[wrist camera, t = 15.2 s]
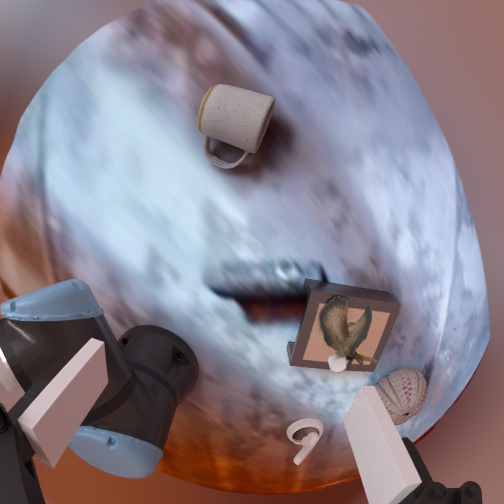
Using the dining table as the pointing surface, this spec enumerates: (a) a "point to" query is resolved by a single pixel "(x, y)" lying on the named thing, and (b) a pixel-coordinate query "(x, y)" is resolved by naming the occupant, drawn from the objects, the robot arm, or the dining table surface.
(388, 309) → the dark boxy piece
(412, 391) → the sea urchin shell
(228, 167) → the ceramic mug
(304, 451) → the vr controller
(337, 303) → the eagle figurine
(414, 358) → the dining table surface
